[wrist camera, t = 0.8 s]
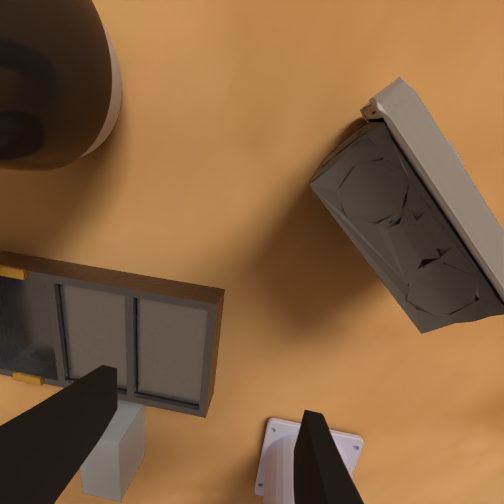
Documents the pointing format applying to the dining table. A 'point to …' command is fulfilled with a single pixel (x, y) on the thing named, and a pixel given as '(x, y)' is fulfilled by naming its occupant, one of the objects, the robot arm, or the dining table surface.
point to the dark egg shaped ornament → (54, 83)
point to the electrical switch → (415, 213)
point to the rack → (110, 330)
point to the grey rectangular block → (116, 454)
